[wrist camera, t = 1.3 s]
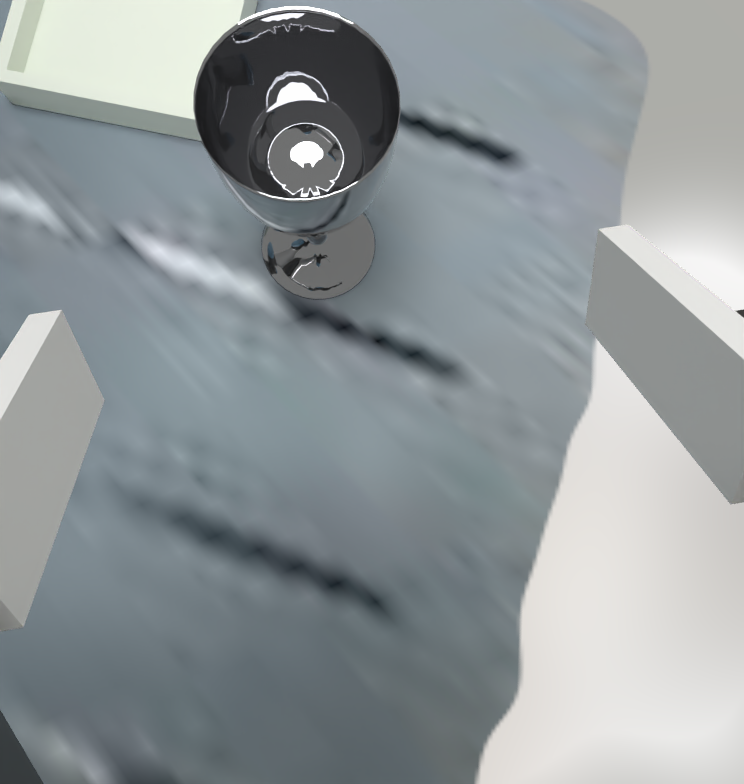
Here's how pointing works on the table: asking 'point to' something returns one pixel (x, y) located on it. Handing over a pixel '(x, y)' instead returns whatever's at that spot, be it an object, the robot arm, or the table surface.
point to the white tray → (114, 58)
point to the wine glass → (302, 139)
